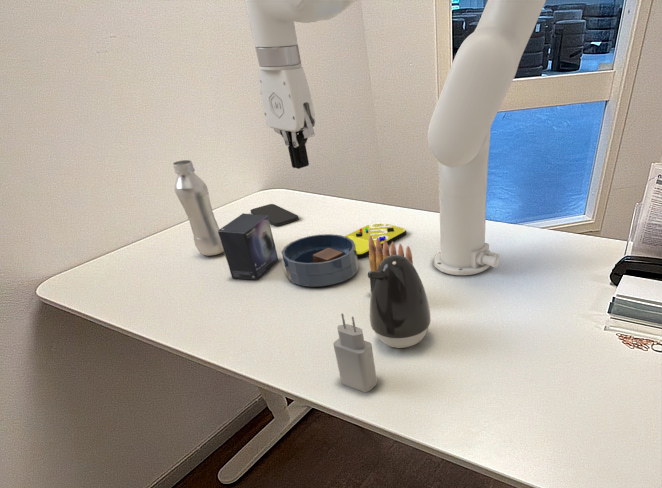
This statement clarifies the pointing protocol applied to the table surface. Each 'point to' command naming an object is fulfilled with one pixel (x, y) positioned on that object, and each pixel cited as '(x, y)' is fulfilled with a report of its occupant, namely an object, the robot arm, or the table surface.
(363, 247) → the yellow toy board
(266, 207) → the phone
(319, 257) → the block
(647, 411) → the table surface
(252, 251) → the small box
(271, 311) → the table surface
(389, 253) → the ammunition clip
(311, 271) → the bowl
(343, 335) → the power adapter
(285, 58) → the robot arm
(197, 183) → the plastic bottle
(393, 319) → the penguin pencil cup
